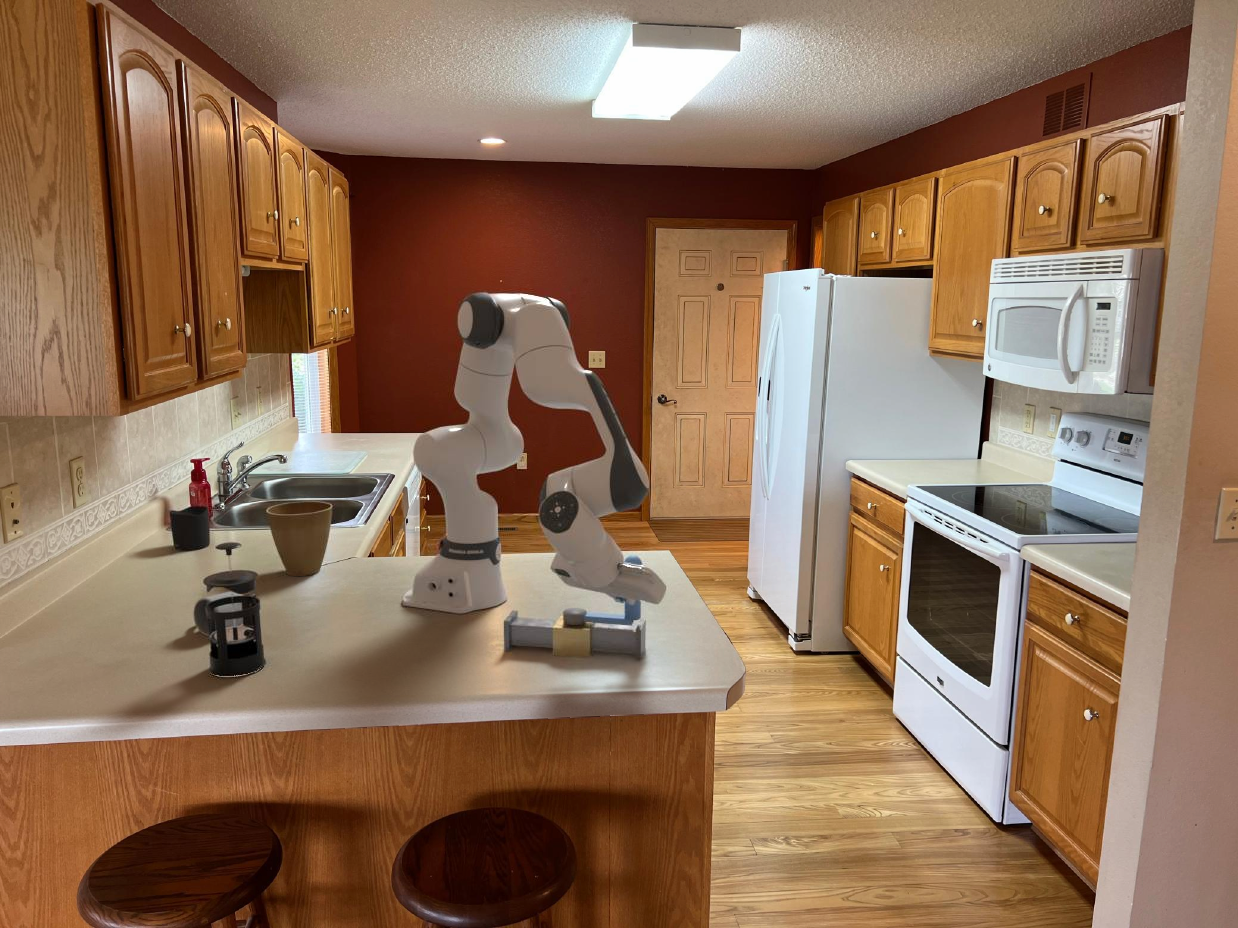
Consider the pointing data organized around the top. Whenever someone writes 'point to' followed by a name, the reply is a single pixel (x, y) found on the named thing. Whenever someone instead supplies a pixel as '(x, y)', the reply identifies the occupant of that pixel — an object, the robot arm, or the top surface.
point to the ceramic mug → (200, 611)
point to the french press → (234, 622)
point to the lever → (582, 616)
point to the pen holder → (190, 528)
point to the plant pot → (301, 534)
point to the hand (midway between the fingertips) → (626, 600)
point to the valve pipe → (574, 636)
